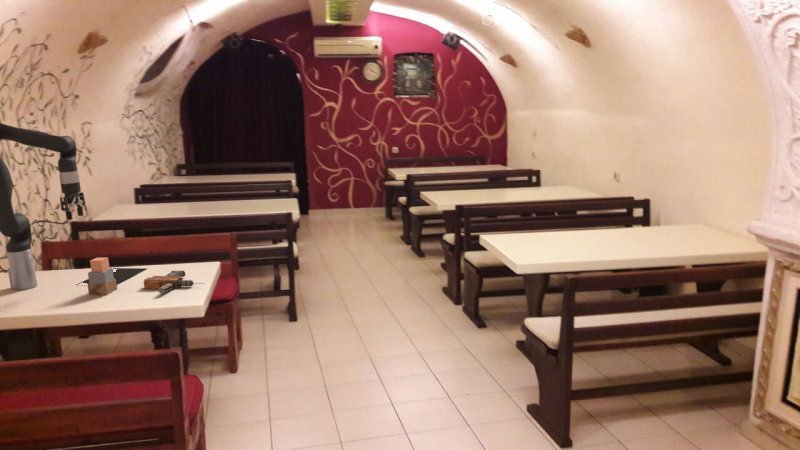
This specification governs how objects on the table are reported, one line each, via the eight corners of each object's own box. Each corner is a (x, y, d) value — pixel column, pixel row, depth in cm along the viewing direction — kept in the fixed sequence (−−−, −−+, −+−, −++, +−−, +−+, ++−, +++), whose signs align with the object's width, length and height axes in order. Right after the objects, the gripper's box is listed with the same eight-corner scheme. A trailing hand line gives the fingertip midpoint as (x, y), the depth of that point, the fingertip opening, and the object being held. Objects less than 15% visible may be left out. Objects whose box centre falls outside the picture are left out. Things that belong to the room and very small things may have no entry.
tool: (165, 269, 275) (129, 285, 245) (220, 269, 272) (191, 286, 242) (166, 277, 275) (130, 295, 246) (221, 277, 272) (191, 295, 243)
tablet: (110, 268, 290) (148, 268, 287) (111, 269, 290) (148, 269, 288) (74, 285, 264) (115, 285, 261) (74, 286, 264) (116, 287, 261)
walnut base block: (89, 295, 249) (87, 284, 248) (99, 289, 257) (98, 278, 256) (107, 295, 249) (105, 284, 248) (117, 289, 256) (115, 278, 255)
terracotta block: (91, 272, 249) (89, 260, 248) (98, 268, 253) (97, 257, 252) (102, 272, 248) (101, 260, 247) (109, 268, 253) (108, 257, 252)
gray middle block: (89, 284, 248) (87, 273, 247) (97, 279, 255) (96, 268, 254) (105, 283, 248) (104, 272, 247) (113, 279, 255) (112, 267, 254)
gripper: (71, 179, 266) (76, 214, 269) (51, 184, 252) (57, 221, 255) (87, 179, 265) (92, 214, 269) (68, 183, 252) (74, 220, 255)
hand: (75, 217), depth 262 cm, fingers open, 8 cm apart
